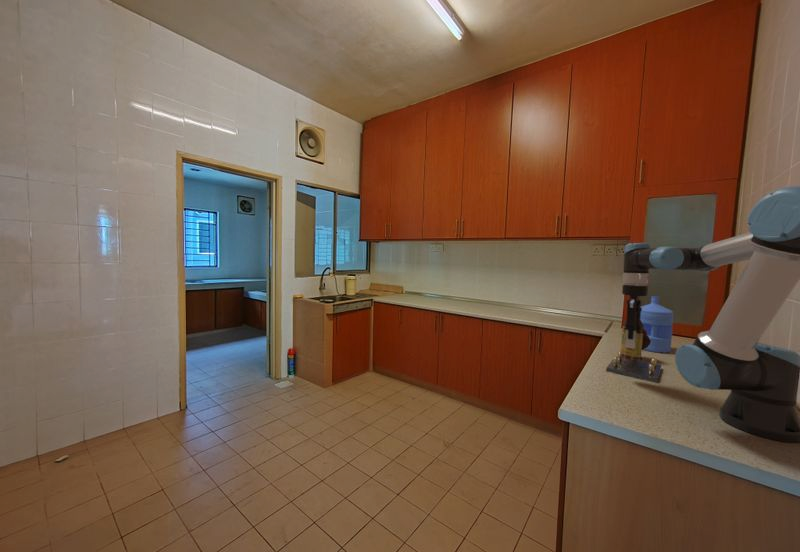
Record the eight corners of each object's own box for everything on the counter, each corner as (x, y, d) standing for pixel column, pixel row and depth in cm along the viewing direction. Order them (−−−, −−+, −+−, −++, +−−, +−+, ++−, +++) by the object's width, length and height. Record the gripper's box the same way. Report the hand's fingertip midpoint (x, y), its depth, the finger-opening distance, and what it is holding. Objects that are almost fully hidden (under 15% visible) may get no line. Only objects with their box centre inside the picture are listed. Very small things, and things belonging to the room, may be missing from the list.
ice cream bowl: (650, 358, 146) (652, 327, 145) (648, 363, 138) (650, 330, 137) (622, 353, 153) (625, 323, 152) (619, 357, 145) (621, 326, 144)
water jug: (632, 343, 174) (635, 294, 172) (668, 348, 165) (673, 296, 163) (633, 349, 161) (637, 296, 160) (672, 355, 152) (677, 299, 150)
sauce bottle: (616, 356, 119) (619, 305, 118) (632, 356, 119) (635, 305, 118) (628, 361, 112) (631, 307, 112) (645, 362, 112) (649, 307, 111)
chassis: (656, 382, 115) (657, 369, 115) (606, 371, 126) (607, 359, 126) (661, 368, 131) (661, 357, 131) (615, 359, 142) (616, 348, 142)
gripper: (645, 286, 105) (641, 353, 106) (650, 284, 119) (646, 343, 120) (618, 284, 110) (614, 348, 111) (626, 283, 124) (623, 340, 125)
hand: (631, 346), depth 115 cm, fingers closed on sauce bottle, 6 cm apart
